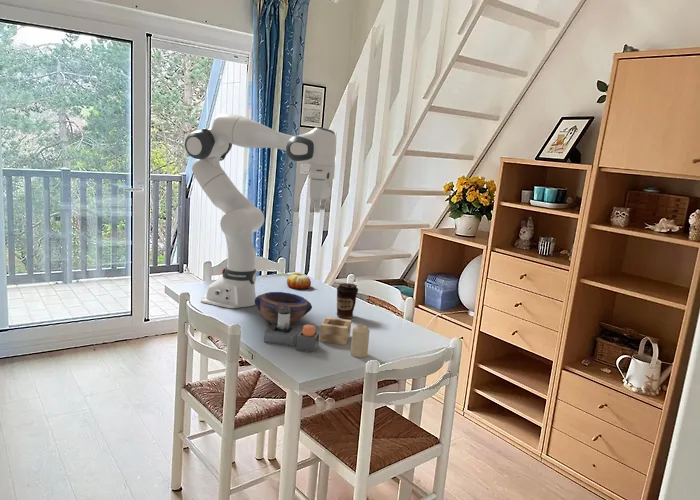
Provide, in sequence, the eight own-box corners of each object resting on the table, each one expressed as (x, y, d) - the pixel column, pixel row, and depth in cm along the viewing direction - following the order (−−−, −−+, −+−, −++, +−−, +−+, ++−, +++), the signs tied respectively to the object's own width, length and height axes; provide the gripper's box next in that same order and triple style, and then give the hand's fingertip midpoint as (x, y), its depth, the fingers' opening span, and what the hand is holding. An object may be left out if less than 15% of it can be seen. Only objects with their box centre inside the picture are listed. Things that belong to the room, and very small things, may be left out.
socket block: (263, 341, 177) (264, 332, 176) (272, 332, 187) (273, 322, 186) (292, 346, 175) (293, 336, 175) (300, 336, 185) (301, 326, 184)
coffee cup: (353, 321, 206) (356, 289, 203) (332, 318, 207) (335, 286, 205) (357, 314, 214) (360, 283, 212) (337, 311, 216) (340, 281, 213)
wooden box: (319, 341, 182) (321, 324, 180) (325, 332, 190) (326, 317, 189) (345, 345, 180) (347, 328, 179) (350, 336, 189) (351, 320, 188)
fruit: (285, 288, 242) (286, 271, 243) (287, 289, 252) (288, 272, 253) (310, 290, 242) (311, 272, 243) (310, 290, 252) (312, 274, 253)
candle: (349, 350, 176) (352, 322, 174) (366, 351, 176) (369, 323, 174) (351, 357, 170) (353, 327, 168) (368, 358, 171) (371, 328, 169)
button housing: (296, 350, 172) (297, 335, 171) (301, 343, 178) (302, 329, 177) (314, 352, 171) (315, 338, 170) (318, 346, 177) (319, 332, 176)
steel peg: (274, 340, 179) (276, 309, 177) (278, 336, 183) (280, 305, 181) (286, 341, 179) (288, 310, 177) (290, 337, 183) (292, 307, 181)
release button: (300, 340, 172) (301, 327, 172) (303, 336, 176) (304, 323, 175) (312, 342, 172) (313, 329, 171) (315, 338, 176) (316, 325, 175)
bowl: (316, 324, 198) (318, 299, 196) (277, 333, 186) (279, 306, 184) (287, 311, 211) (288, 287, 209) (248, 319, 198) (250, 293, 196)
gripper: (319, 171, 204) (317, 207, 206) (307, 173, 184) (305, 213, 187) (335, 173, 203) (333, 208, 206) (325, 174, 183) (322, 214, 186)
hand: (319, 210), depth 196 cm, fingers open, 8 cm apart
